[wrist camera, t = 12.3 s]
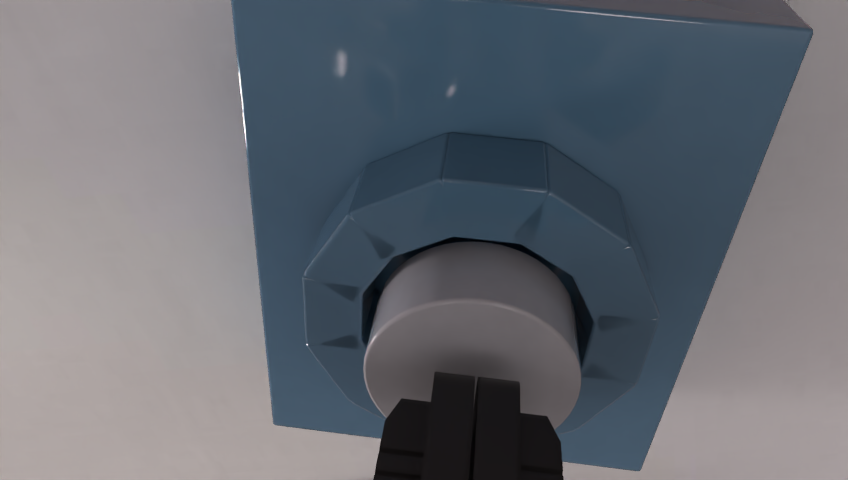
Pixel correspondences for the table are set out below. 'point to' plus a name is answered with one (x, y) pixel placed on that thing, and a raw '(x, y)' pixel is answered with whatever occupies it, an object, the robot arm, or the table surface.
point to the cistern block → (504, 176)
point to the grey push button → (475, 328)
